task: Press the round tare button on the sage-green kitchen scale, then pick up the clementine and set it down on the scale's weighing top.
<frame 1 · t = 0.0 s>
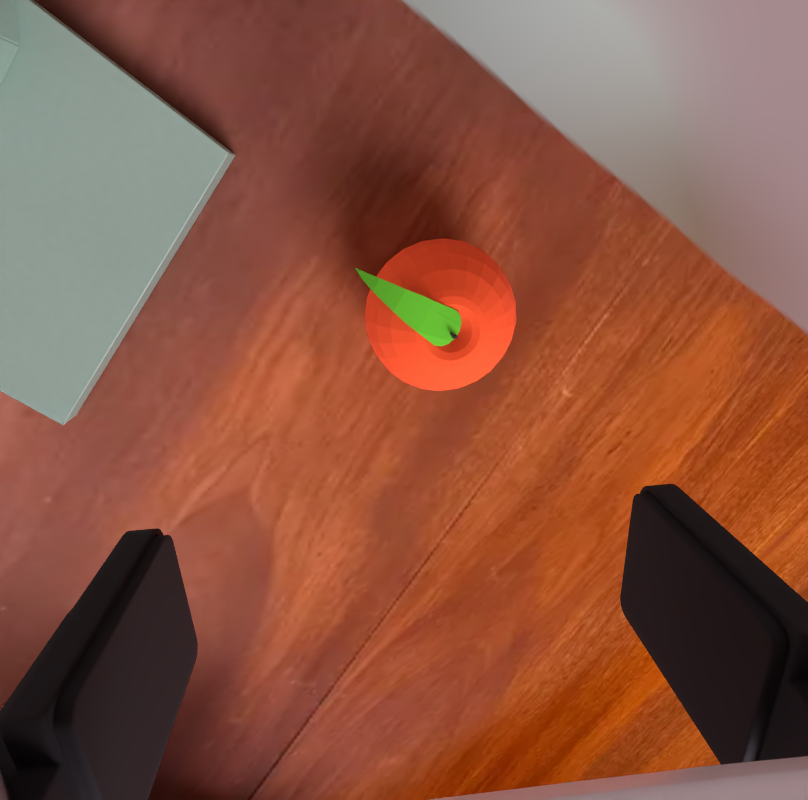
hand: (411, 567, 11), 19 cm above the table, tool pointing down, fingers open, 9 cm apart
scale: (10, 203, 24), on the table
clementine: (420, 296, 28), on the table
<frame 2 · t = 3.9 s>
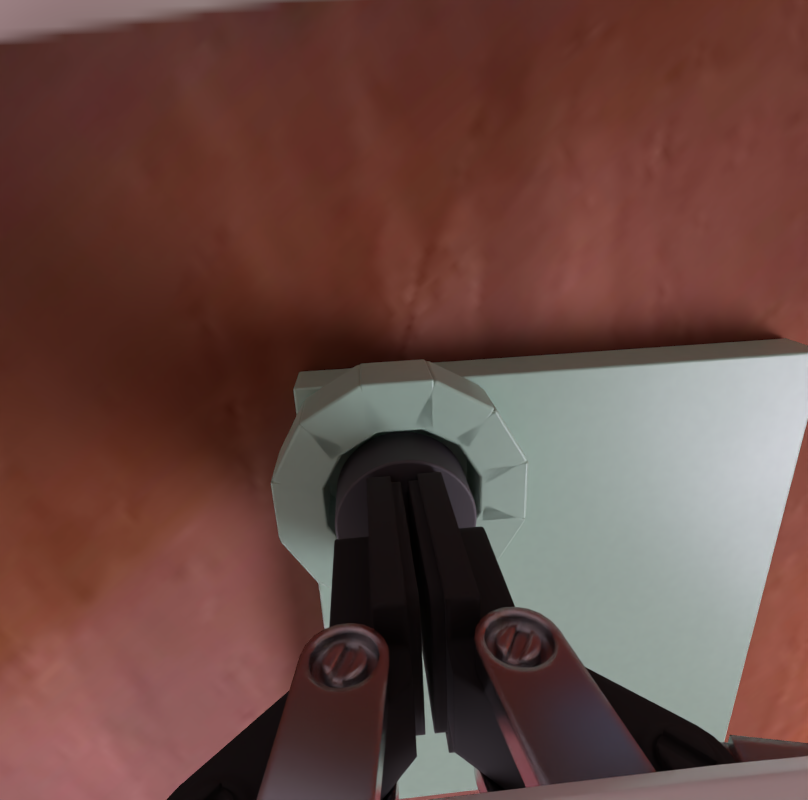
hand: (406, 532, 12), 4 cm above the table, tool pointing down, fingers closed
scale: (536, 582, 18), on the table
tare button: (403, 505, 12), point 3 cm above the table, slide at -0.1 cm, touching gripper
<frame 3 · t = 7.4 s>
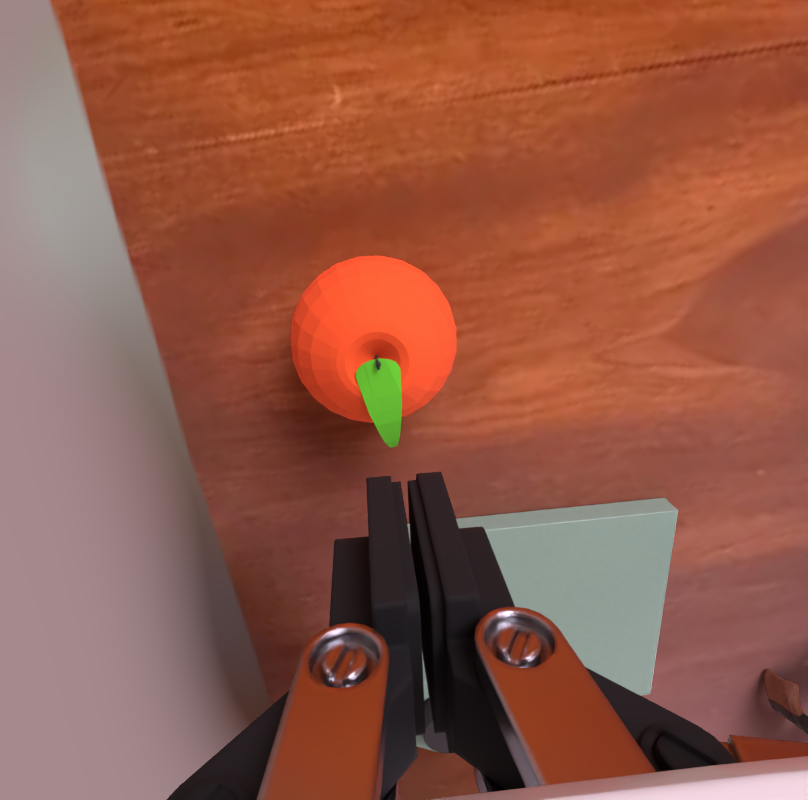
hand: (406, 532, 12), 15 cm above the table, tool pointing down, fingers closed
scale: (526, 607, 32), on the table
tare button: (449, 721, 31), point 3 cm above the table, slide at 0.1 cm
clementine: (373, 332, 26), on the table
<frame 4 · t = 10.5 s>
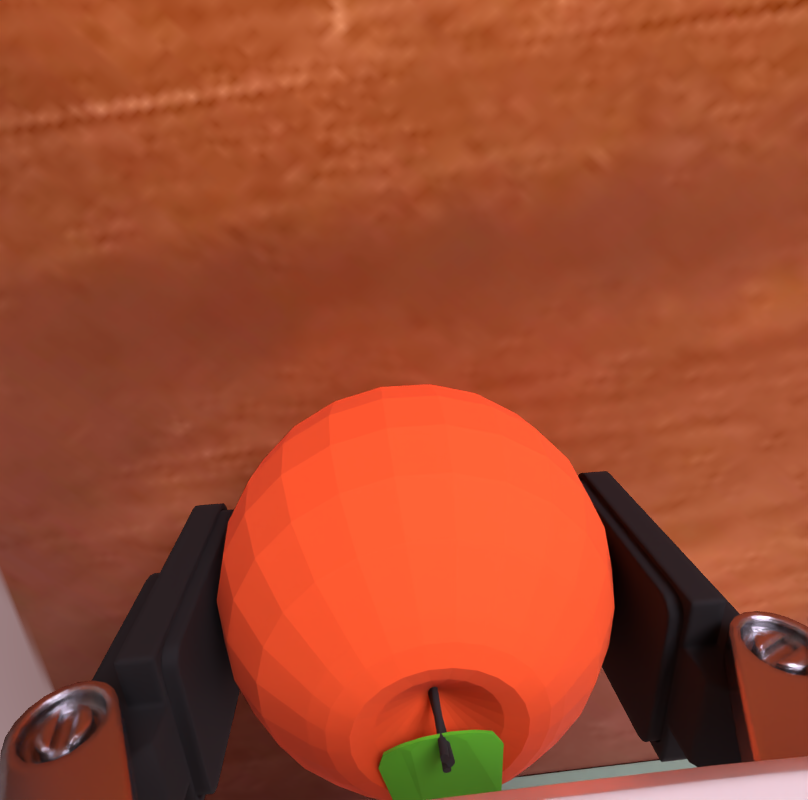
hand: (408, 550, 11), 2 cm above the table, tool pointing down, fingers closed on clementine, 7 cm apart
clementine: (402, 491, 13), on the table, touching gripper
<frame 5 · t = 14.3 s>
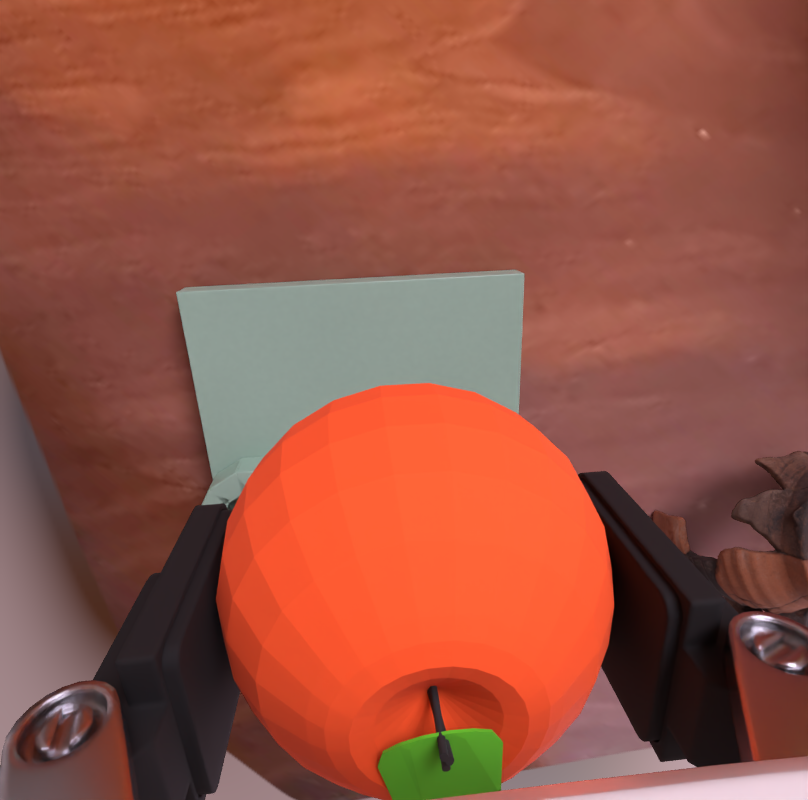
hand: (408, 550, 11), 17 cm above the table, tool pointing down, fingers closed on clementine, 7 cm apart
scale: (363, 411, 28), on the table
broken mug: (726, 519, 33), on the table
clementine: (402, 490, 13), point 14 cm above the table, touching gripper
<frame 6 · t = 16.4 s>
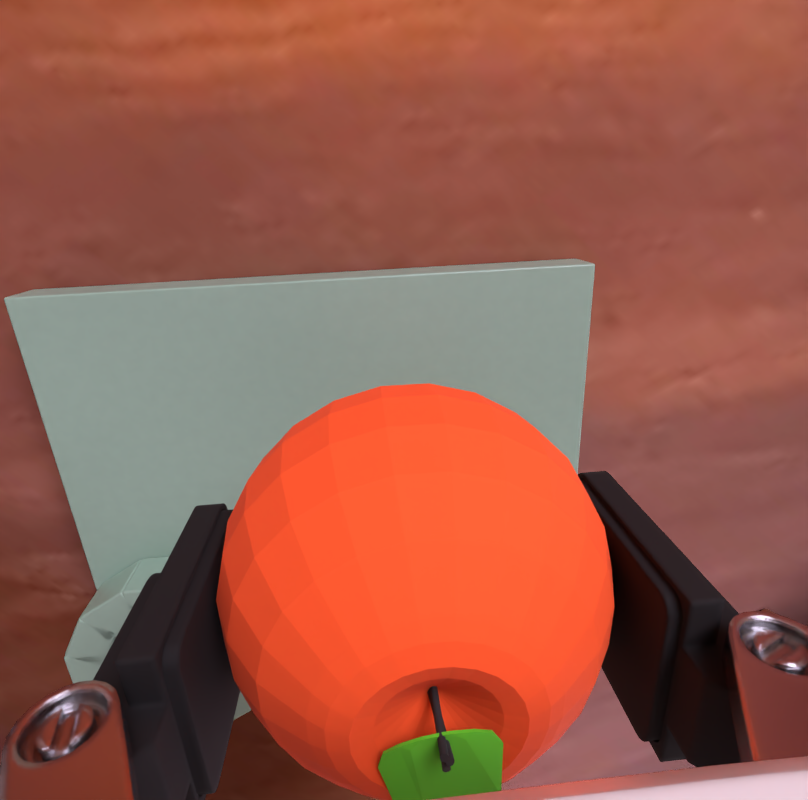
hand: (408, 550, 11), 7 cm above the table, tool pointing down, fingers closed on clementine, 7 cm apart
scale: (335, 480, 18), on the table
clementine: (402, 491, 13), point 4 cm above the table, touching gripper
when the fingers open (4 cm above the table, at t = 18.0 s): clementine stays where it is, resting on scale.
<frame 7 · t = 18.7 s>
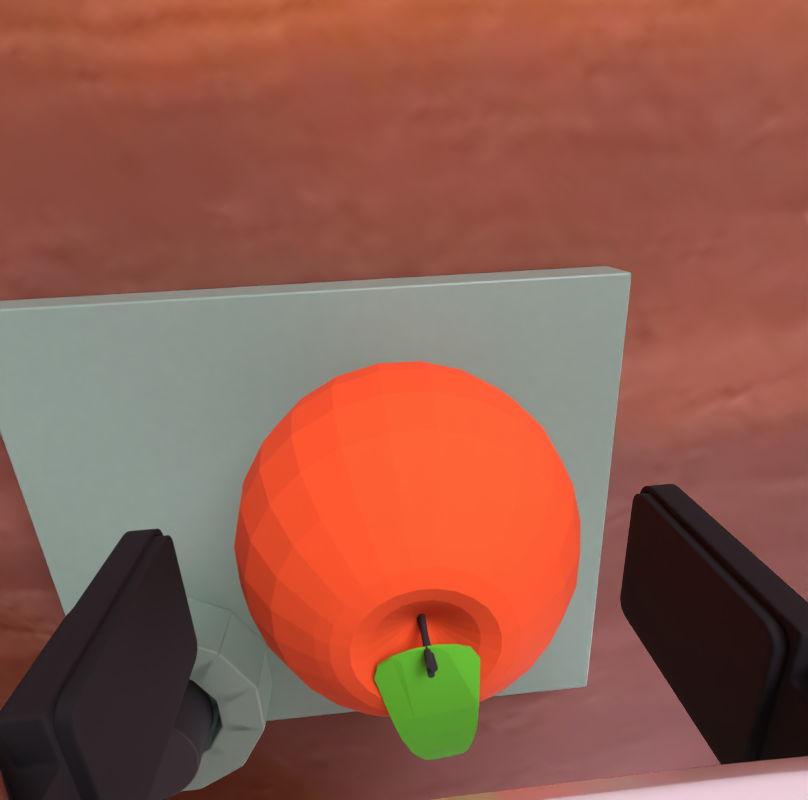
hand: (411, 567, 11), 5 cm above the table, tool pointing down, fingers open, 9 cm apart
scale: (336, 510, 16), on the table
tare button: (146, 735, 14), point 3 cm above the table, slide at 0.1 cm
clementine: (398, 465, 15), point 1 cm above the table, touching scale
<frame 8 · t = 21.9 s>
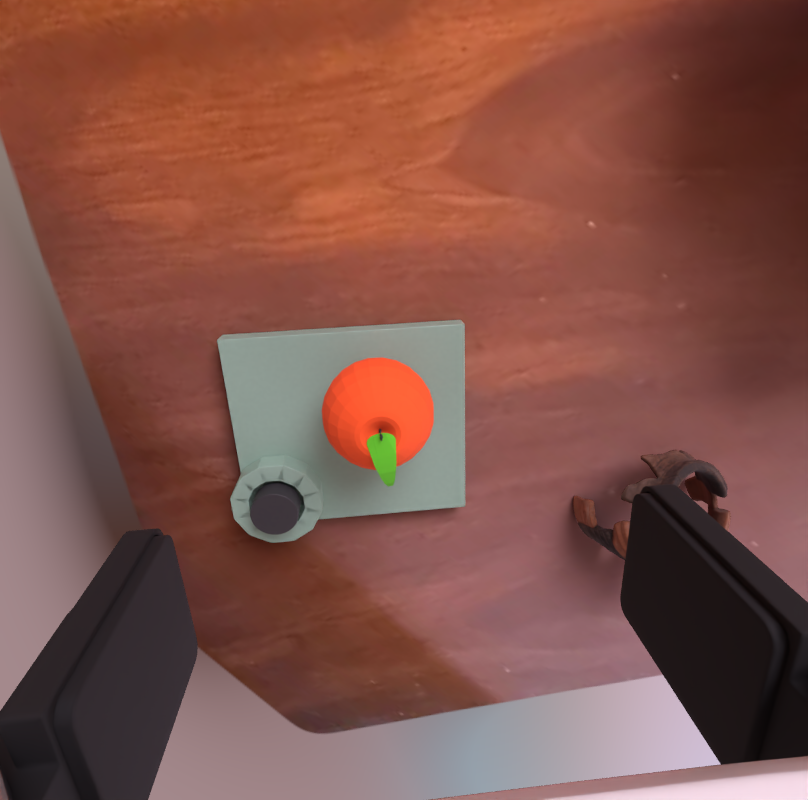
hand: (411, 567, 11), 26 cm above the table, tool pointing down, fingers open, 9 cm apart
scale: (351, 422, 38), on the table
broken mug: (631, 502, 43), on the table
tare button: (275, 508, 36), point 3 cm above the table, slide at 0.1 cm
clementine: (377, 400, 36), point 1 cm above the table, touching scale
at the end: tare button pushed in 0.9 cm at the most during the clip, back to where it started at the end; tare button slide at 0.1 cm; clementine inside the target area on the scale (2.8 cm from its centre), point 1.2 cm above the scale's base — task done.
